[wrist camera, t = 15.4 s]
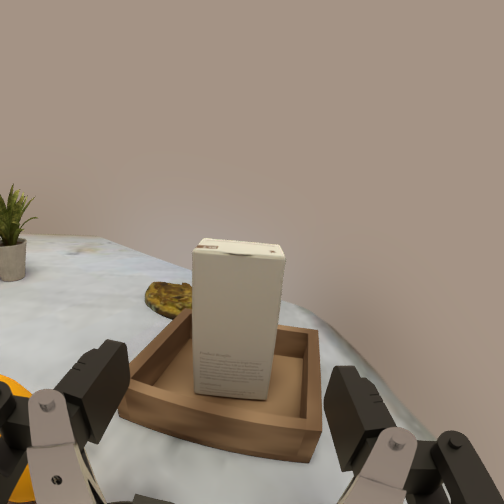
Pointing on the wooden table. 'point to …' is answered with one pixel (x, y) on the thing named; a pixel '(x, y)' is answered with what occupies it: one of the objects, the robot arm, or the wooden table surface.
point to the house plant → (12, 238)
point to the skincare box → (235, 316)
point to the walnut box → (227, 408)
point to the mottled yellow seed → (169, 298)
